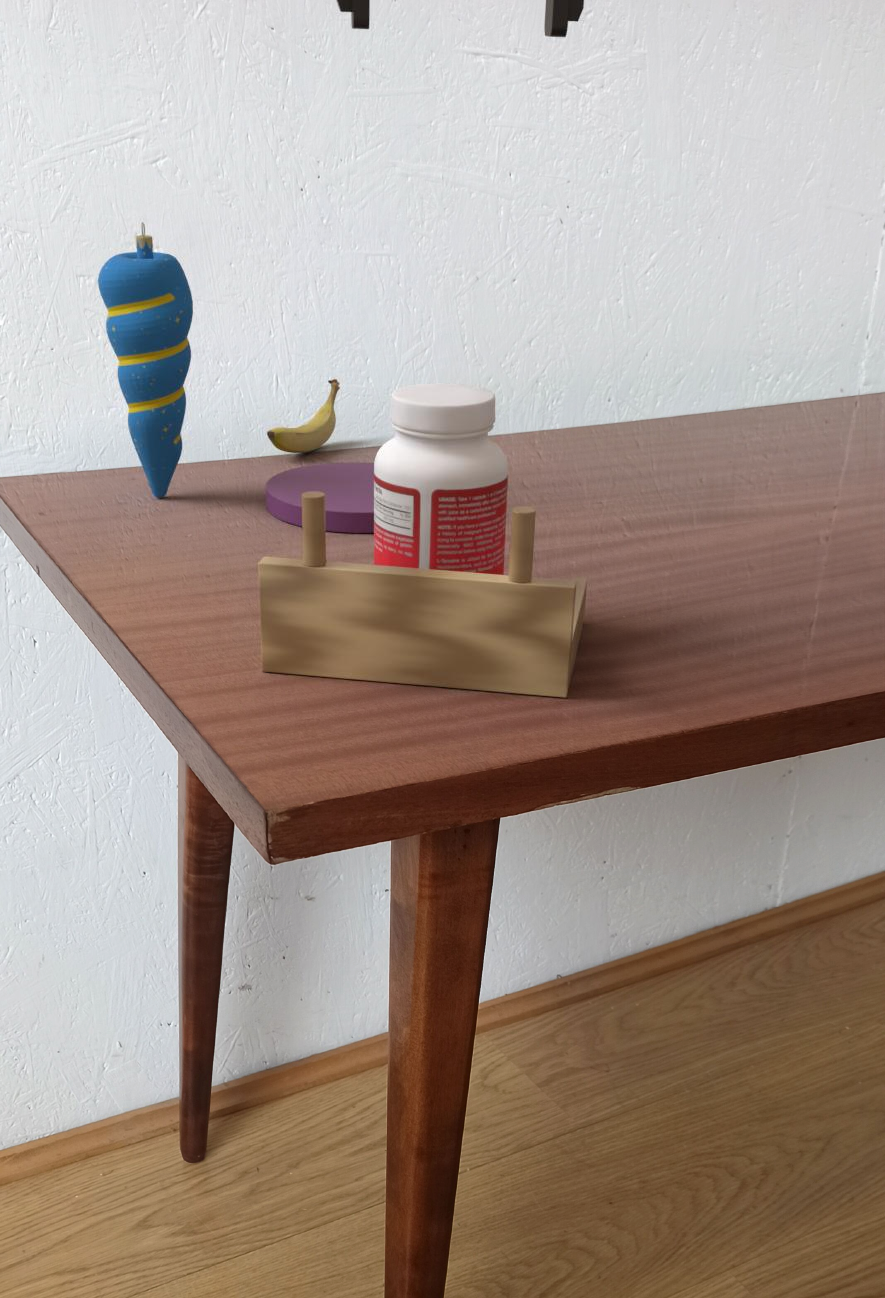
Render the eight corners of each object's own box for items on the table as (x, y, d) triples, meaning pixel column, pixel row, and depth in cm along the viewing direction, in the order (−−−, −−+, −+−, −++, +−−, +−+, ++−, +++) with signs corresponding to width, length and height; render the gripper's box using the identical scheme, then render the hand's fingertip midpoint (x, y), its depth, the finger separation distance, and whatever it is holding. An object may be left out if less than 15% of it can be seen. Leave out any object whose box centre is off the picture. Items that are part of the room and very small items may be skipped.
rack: (583, 621, 76) (597, 457, 71) (566, 698, 67) (580, 516, 63) (312, 599, 77) (309, 437, 73) (261, 671, 69) (255, 493, 65)
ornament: (110, 507, 90) (86, 227, 82) (123, 484, 94) (100, 216, 86) (198, 509, 90) (183, 230, 82) (207, 485, 94) (192, 218, 86)
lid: (461, 488, 96) (462, 468, 95) (433, 539, 86) (434, 518, 86) (290, 476, 97) (290, 456, 96) (245, 525, 88) (244, 504, 87)
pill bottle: (513, 618, 76) (526, 385, 70) (483, 660, 71) (494, 414, 65) (394, 603, 77) (396, 374, 71) (356, 644, 72) (356, 401, 66)
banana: (326, 436, 106) (325, 376, 104) (348, 439, 105) (347, 379, 103) (262, 462, 100) (260, 398, 97) (285, 465, 99) (283, 401, 97)
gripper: (286, -509, 54) (295, 29, 62) (682, -482, 55) (637, 41, 64) (285, -457, 60) (293, 25, 69) (640, -433, 61) (604, 36, 70)
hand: (458, 32), depth 66 cm, fingers open, 8 cm apart
